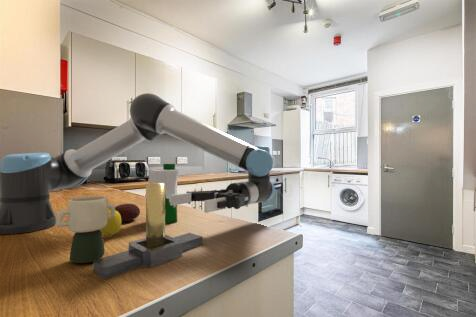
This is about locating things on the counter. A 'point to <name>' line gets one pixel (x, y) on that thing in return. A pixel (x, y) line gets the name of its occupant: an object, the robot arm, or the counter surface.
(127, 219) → the potato
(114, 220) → the lemon
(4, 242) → the counter surface
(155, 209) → the link pin
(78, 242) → the character mug
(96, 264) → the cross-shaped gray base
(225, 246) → the counter surface
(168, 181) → the milk carton
